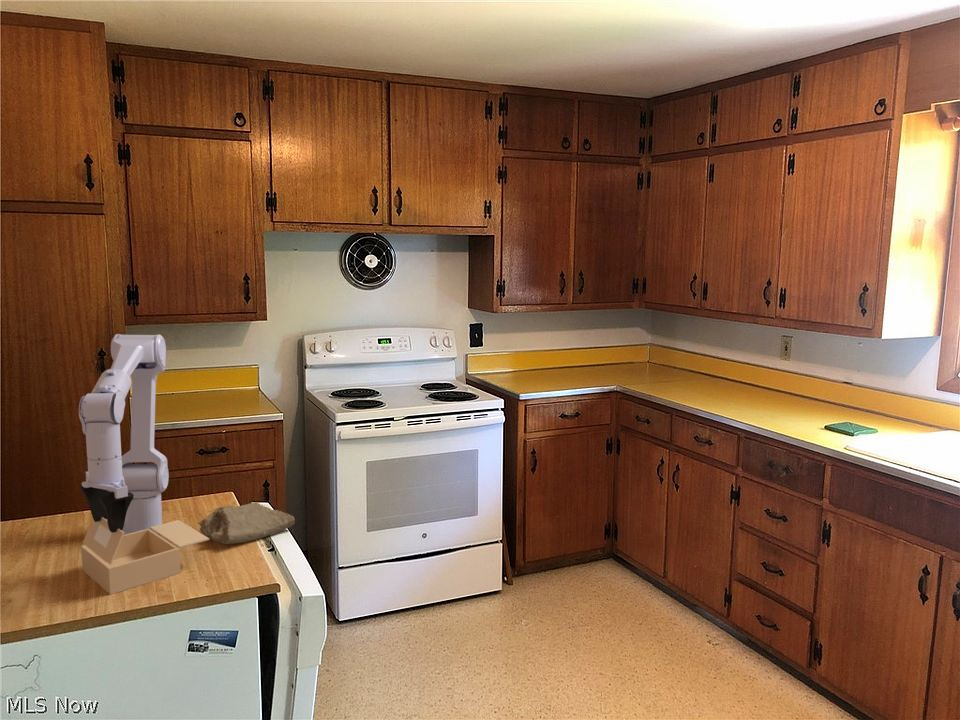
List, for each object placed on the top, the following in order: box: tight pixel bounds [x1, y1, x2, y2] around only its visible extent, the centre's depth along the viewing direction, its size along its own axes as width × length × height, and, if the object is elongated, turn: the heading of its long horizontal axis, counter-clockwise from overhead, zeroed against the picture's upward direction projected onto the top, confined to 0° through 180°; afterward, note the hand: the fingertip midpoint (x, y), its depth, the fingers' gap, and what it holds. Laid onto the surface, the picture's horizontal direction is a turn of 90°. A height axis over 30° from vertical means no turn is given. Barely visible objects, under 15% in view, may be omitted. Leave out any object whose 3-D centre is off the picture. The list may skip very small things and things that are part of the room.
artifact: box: [197, 501, 296, 545], centre depth 164 cm, size 18×7×15 cm
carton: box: [80, 519, 210, 596], centre depth 145 cm, size 14×19×5 cm
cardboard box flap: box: [82, 518, 125, 565], centre depth 139 cm, size 14×6×1 cm
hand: (108, 525), depth 139 cm, fingers open, 7 cm apart
